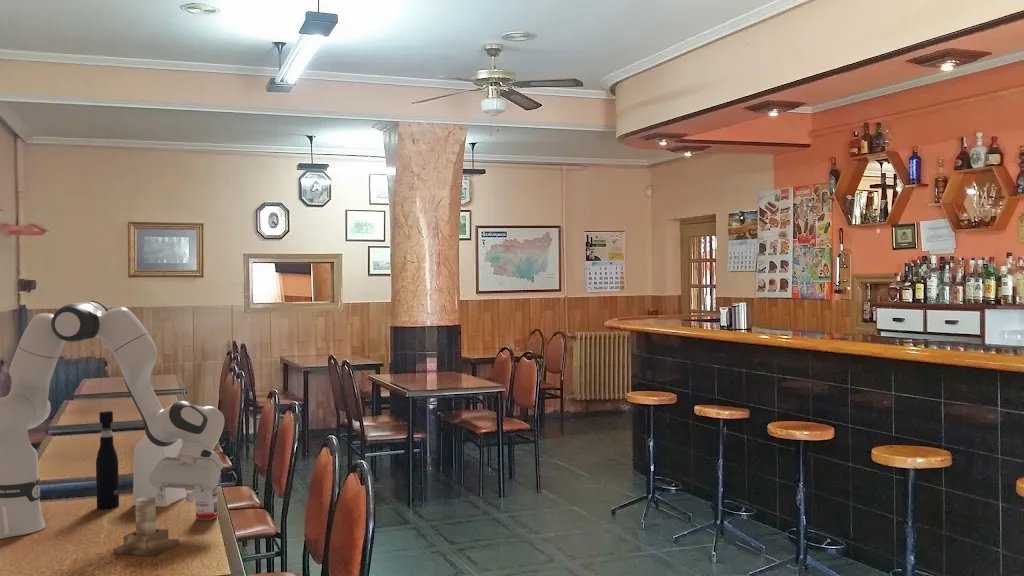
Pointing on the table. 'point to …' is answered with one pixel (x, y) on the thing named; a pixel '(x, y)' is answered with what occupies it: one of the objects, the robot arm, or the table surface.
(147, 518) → the beige rectangular block
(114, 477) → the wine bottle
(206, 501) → the beer can
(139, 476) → the milk
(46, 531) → the table surface
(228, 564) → the table surface
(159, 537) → the wooden socket base
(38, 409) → the robot arm
